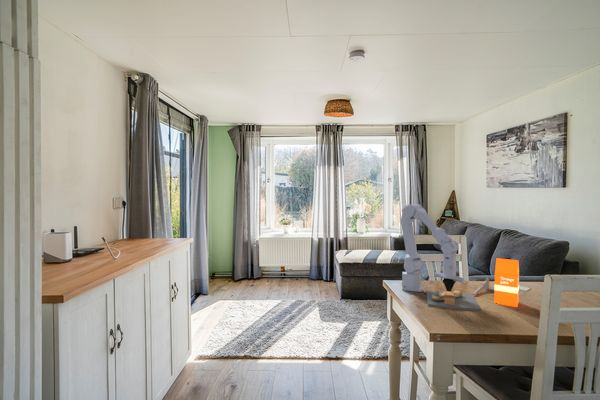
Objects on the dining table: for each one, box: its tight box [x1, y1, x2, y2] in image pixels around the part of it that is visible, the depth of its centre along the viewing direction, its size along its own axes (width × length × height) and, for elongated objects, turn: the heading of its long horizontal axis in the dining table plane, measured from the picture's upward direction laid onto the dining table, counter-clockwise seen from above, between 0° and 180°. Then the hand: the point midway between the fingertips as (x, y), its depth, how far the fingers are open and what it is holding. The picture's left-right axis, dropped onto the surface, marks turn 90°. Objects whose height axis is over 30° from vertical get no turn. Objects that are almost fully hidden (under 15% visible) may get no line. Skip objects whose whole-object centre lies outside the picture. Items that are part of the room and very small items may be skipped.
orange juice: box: [493, 257, 520, 308], centre depth 150 cm, size 8×9×20 cm
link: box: [432, 290, 463, 301], centre depth 153 cm, size 18×4×4 cm, turn 116°
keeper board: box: [425, 290, 482, 312], centre depth 153 cm, size 21×21×5 cm
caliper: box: [472, 276, 490, 297], centre depth 166 cm, size 20×1×6 cm, turn 132°
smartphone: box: [519, 285, 532, 292], centre depth 176 cm, size 7×1×15 cm
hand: (449, 294), depth 157 cm, fingers closed
